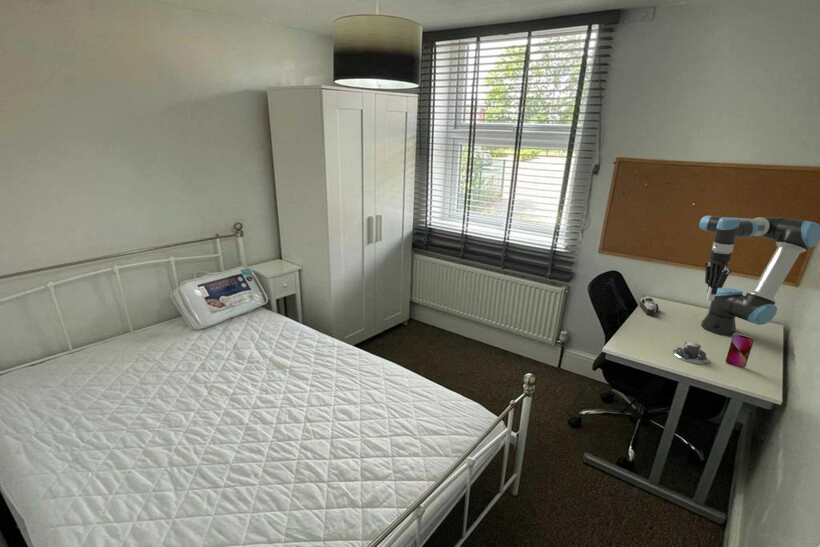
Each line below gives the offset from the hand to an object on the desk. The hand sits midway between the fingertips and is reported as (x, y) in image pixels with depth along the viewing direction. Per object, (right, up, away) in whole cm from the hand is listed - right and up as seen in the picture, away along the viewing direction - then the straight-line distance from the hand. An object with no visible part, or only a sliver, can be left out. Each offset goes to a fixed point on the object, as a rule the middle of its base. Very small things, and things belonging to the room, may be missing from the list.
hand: (709, 299), depth 189 cm
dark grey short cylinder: (-10, -27, 0) cm, 28 cm away
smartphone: (+7, -30, -6) cm, 31 cm away
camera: (+1, -12, +50) cm, 52 cm away
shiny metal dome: (-9, -27, 0) cm, 29 cm away
